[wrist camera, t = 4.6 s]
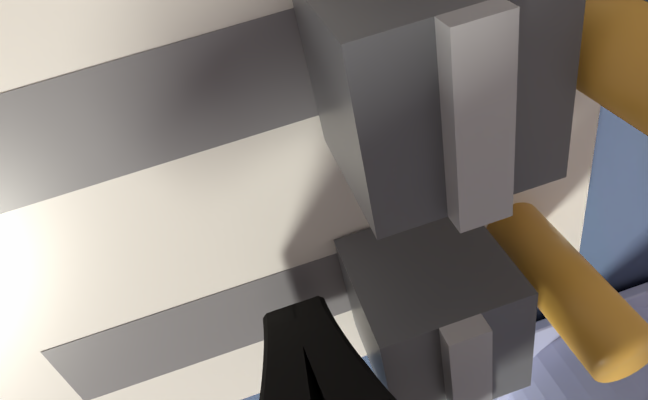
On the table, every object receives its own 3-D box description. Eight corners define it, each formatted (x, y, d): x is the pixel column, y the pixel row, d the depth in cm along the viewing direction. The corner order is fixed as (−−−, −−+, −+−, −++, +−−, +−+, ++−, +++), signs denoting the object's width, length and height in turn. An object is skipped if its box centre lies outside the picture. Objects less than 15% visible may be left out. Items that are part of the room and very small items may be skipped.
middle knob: (471, 93, 10) (582, 192, 8) (324, 140, 10) (386, 258, 7) (467, -75, 8) (612, -22, 6) (286, -23, 8) (351, 57, 6)
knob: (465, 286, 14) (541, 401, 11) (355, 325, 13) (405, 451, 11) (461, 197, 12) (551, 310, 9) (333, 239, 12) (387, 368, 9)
